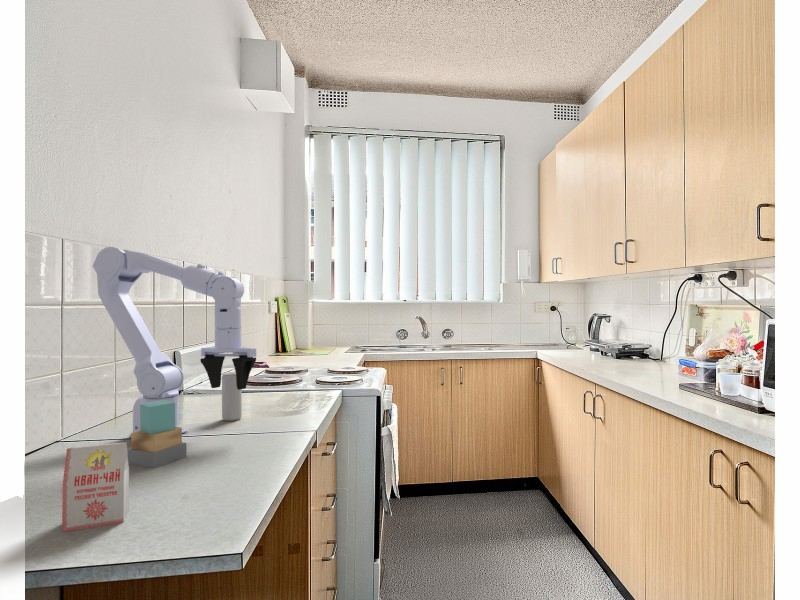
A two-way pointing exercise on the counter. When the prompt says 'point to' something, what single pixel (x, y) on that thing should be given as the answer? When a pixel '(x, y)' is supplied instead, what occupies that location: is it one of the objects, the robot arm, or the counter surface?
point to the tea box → (95, 486)
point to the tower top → (156, 440)
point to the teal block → (157, 416)
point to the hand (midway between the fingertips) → (228, 388)
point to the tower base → (156, 456)
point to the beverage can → (231, 398)
